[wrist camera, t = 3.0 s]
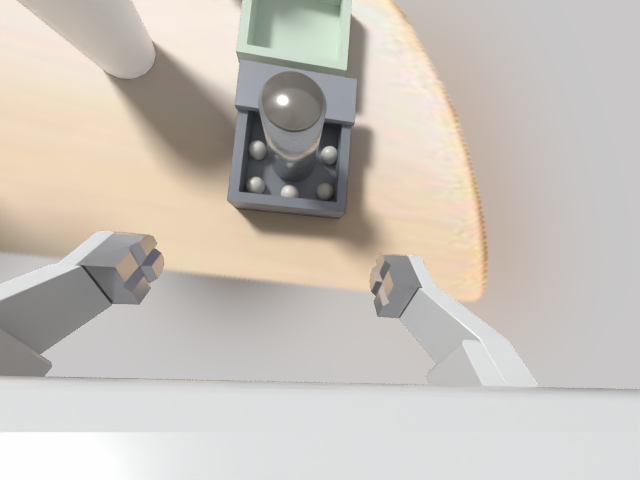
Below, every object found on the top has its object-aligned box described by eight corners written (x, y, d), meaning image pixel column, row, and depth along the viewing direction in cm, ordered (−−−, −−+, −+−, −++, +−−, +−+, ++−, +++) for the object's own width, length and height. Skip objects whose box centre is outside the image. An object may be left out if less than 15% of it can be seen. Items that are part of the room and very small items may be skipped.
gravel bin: (234, 208, 26) (223, 198, 22) (248, 89, 27) (240, 59, 23) (340, 218, 27) (348, 211, 23) (348, 105, 28) (357, 79, 24)
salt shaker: (284, 189, 26) (277, 144, 16) (263, 151, 26) (244, 82, 16) (322, 170, 26) (339, 116, 16) (302, 133, 26) (307, 57, 16)
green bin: (243, 77, 27) (235, 51, 24) (253, -10, 28) (248, -48, 25) (340, 93, 28) (346, 70, 25) (346, 9, 30) (353, -24, 26)
